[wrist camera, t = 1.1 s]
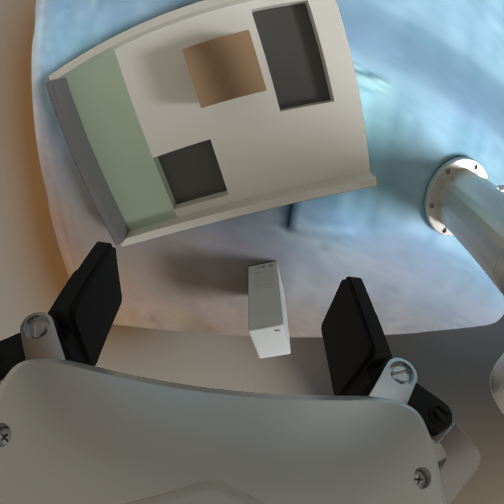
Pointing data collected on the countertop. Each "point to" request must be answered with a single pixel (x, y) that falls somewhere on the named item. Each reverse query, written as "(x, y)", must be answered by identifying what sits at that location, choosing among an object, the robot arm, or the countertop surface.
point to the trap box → (213, 119)
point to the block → (224, 68)
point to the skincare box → (267, 311)
